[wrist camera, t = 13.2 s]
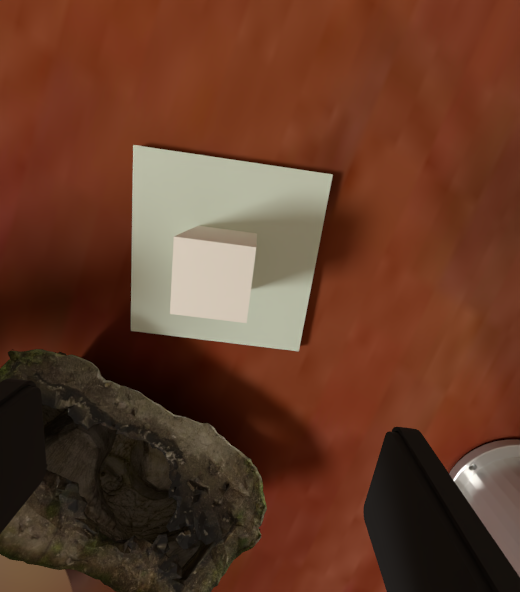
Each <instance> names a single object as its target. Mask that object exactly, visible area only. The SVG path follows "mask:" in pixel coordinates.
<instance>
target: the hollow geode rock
mask: <svg viewBox="0 0 520 592" xmlns="http://www.w3.org/2000/svg"><path fill="white" fill-rule="evenodd" d="M11 350H13V349H11ZM8 354H9V357H10V360H9V361H7V362H6V363H5V364H4V365H3V366H2V367H1V368H0V382H2V381H3V380H5V379H8V378H13V379H21V380H29V381H33V382H34V383H35V384H36V387H37V388H39V389H40V390H41V397H42V411H43V424H44V438H45V452H46V465H47V469H46V474H45V476H44V478H43V480H42V482H41V483H40V485H39V486H38V487H37V489H36V490H35V491H34V492H33V494H32V495H31V496H30V497H29V499H28V500H27V501H26V502H25V504H24V505H23V506H22V507H21V509H20V510H19V511H18V512H17V514H16V515H15V516H14V517H13V519H12V520H11V521H10V522H9V524H8V525H7V526H6V527H5V529H4V530H3V531H2V532H1V534H0V554H1V555H3V556H5V557H7V558H9V559H12V560H18V561H24V562H26V563H27V564H34V565H40V566H44V567H48V568H52V569H58V570H62V569H73V570H77V571H80V572H82V573H84V574H86V575H88V576H90V577H92V578H95V579H99V580H101V581H102V582H103V583H104V585H108V586H109V587H111V588H112V589H113V590H115V591H117V592H211V591H212V589H213V588H214V587H215V586H217V585H218V583H219V581H220V579H221V577H222V576H223V575H224V574H225V573H226V571H227V569H228V567H229V566H230V564H231V563H232V561H233V560H234V559H236V558H237V557H238V556H239V555H240V554H241V553H243V552H245V551H247V550H249V549H251V548H253V547H254V546H255V544H256V543H257V542H258V541H259V540H260V538H261V534H260V529H259V528H258V527H260V526H261V524H262V521H263V517H264V514H265V512H266V508H267V507H266V503H265V498H264V493H263V482H262V478H261V476H260V474H259V472H258V470H257V467H256V466H255V465H253V464H252V461H251V459H250V458H248V457H247V456H245V455H244V454H243V453H242V452H241V451H239V450H238V449H236V448H235V447H234V446H232V445H231V444H230V443H229V442H228V441H227V440H226V439H225V438H224V437H223V436H221V435H219V434H218V433H217V432H216V430H215V428H214V427H213V426H212V425H210V424H209V423H199V422H196V421H194V420H192V419H189V418H186V417H183V416H178V415H174V414H172V413H171V412H169V411H167V410H166V409H165V408H164V407H163V406H161V405H159V404H158V403H155V402H153V401H152V400H150V399H149V398H147V397H146V396H144V395H143V394H142V393H141V392H139V391H136V390H133V389H131V388H128V387H126V386H120V385H118V384H116V383H114V382H112V381H108V380H105V379H104V378H103V377H102V376H101V375H100V371H99V369H98V368H97V367H96V366H95V365H94V364H93V363H92V362H90V361H88V360H85V359H83V358H80V357H77V356H74V355H68V356H67V355H66V354H65V353H62V352H59V353H56V352H55V353H54V352H50V351H46V350H43V349H35V350H30V351H24V352H18V351H9V352H8Z"/></svg>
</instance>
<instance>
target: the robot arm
mask: <svg viewBox="0 0 520 592" xmlns="http://www.w3.org/2000/svg"><path fill="white" fill-rule="evenodd" d="M46 469H47V465H46V452H45V438H44V424H43V411H42V397H41V390H40V389H39V388H37V387H36V384H35V383H34V382H33V381H29V380H21V379H13V378H8V379H5V380H3V381H2V382H0V534H1V532H2V531H3V530H4V529H5V527H6V526H7V525H8V524H9V522H10V521H11V520H12V519H13V517H14V516H15V515H16V514H17V512H18V511H19V510H20V509H21V507H22V506H23V505H24V504H25V502H26V501H27V500H28V499H29V497H30V496H31V495H32V494H33V492H34V491H35V490H36V489H37V487H38V486H39V485H40V483H41V482H42V480H43V478H44V476H45V474H46ZM364 520H365V523H366V527H367V530H368V533H369V536H370V539H371V542H372V546H373V549H374V552H375V555H376V558H377V561H378V565H379V568H380V571H381V574H382V577H383V580H384V583H385V587H386V590H387V592H520V440H518V439H513V440H501V441H495V442H491V443H488V444H485V445H483V446H480V447H478V448H476V449H474V450H473V451H471V452H469V453H468V454H466V455H465V456H464V457H463V458H462V459H460V460H459V461H458V462H457V463H456V465H455V466H454V467H453V468H452V470H451V471H450V473H448V472H447V470H446V469H445V467H444V466H443V464H442V463H441V461H440V460H439V459H438V457H437V456H436V454H435V453H434V451H433V450H432V448H431V447H430V445H429V444H428V442H427V441H426V440H425V438H424V437H423V435H422V434H421V432H420V431H419V430H417V429H410V428H402V427H394V428H393V430H392V432H387V433H386V435H385V438H384V442H383V445H382V448H381V451H380V455H379V458H378V461H377V465H376V468H375V471H374V475H373V478H372V481H371V485H370V488H369V491H368V494H367V498H366V501H365V504H364Z"/></svg>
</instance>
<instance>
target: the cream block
mask: <svg viewBox="0 0 520 592" xmlns="http://www.w3.org/2000/svg"><path fill="white" fill-rule="evenodd" d="M256 245H257V233H250V232H243V231H235V230H228V229H220V228H213V227H205V226H196V227H194V228H192V229H189V230H187V231H185V232H183V233H180V234H178V235H176V236H174V241H173V261H172V282H171V302H170V314H175V315H183V316H191V317H199V318H208V319H216V320H224V321H233V322H241V323H247V317H248V309H249V301H250V293H251V285H252V278H253V270H254V262H255V254H256Z"/></svg>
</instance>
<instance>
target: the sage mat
mask: <svg viewBox="0 0 520 592" xmlns="http://www.w3.org/2000/svg"><path fill="white" fill-rule="evenodd" d="M332 176H333V174H326V173H320V172H313V171H306V170H299V169H293V168H286V167H279V166H272V165H266V164H259V163H252V162H245V161H239V160H232V159H225V158H218V157H212V156H205V155H198V154H191V153H185V152H178V151H171V150H164V149H157V148H151V147H144V146H137V145H133V195H132V269H131V331H136V332H144V333H152V334H161V335H169V336H177V337H185V338H194V339H202V340H210V341H218V342H227V343H235V344H243V345H251V346H260V347H268V348H276V349H284V350H293V351H299V348H300V343H301V337H302V332H303V327H304V322H305V317H306V311H307V306H308V301H309V296H310V291H311V285H312V280H313V275H314V270H315V265H316V259H317V254H318V249H319V244H320V239H321V233H322V228H323V223H324V218H325V213H326V207H327V202H328V197H329V192H330V187H331V182H332ZM196 226H205V227H213V228H220V229H228V230H235V231H243V232H250V233H257V245H256V254H255V262H254V270H253V278H252V285H251V293H250V301H249V309H248V317H247V323H241V322H233V321H224V320H216V319H208V318H199V317H191V316H183V315H175V314H170V302H171V282H172V261H173V241H174V236H176V235H178V234H180V233H183V232H185V231H187V230H189V229H192V228H194V227H196Z"/></svg>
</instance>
